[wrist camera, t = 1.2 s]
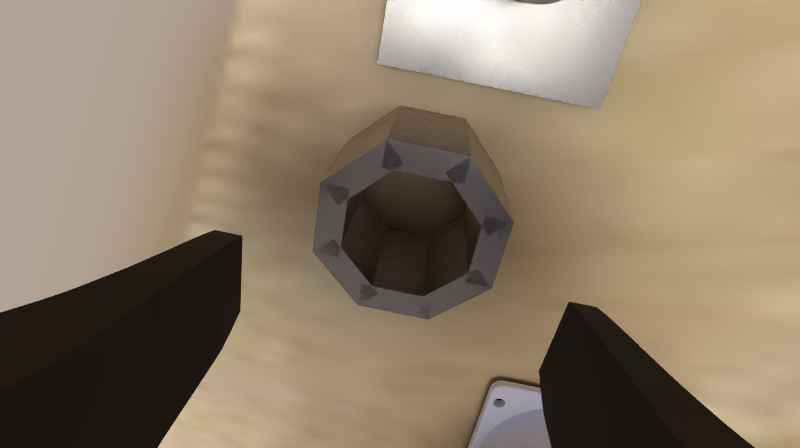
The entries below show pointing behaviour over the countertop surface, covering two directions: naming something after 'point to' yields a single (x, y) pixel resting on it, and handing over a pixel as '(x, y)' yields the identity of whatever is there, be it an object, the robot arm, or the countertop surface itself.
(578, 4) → the square base with peg
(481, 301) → the countertop surface
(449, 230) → the octagonal tube
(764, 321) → the countertop surface
